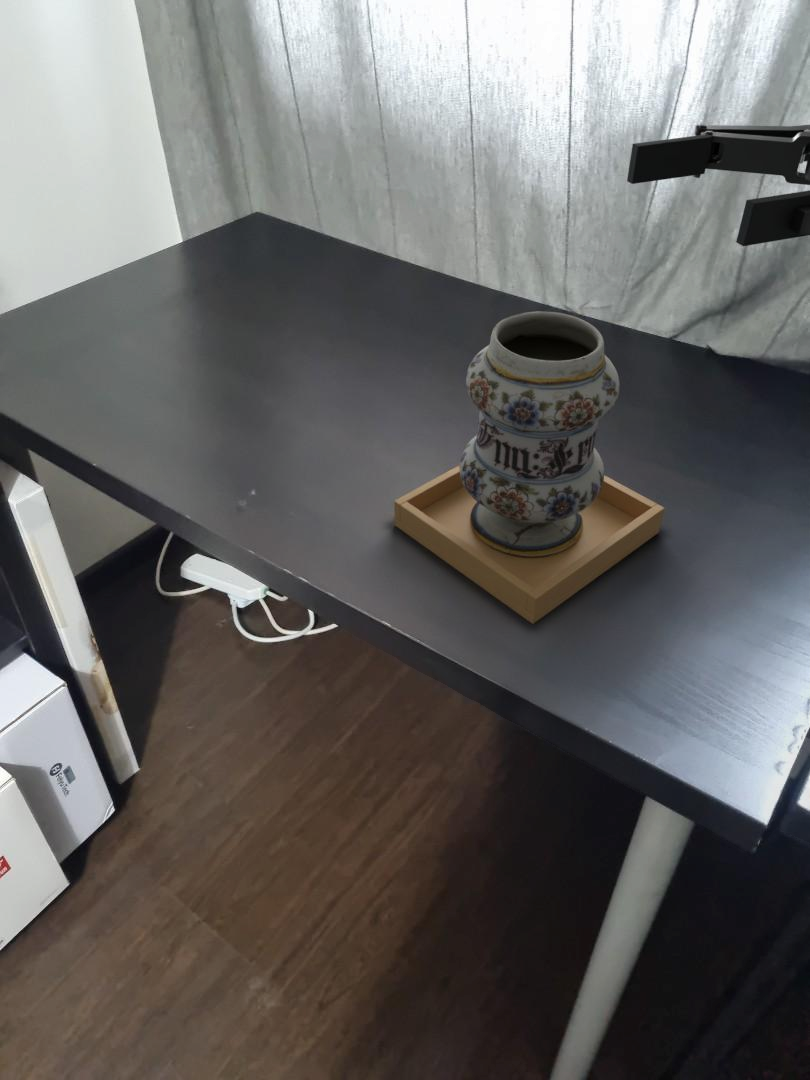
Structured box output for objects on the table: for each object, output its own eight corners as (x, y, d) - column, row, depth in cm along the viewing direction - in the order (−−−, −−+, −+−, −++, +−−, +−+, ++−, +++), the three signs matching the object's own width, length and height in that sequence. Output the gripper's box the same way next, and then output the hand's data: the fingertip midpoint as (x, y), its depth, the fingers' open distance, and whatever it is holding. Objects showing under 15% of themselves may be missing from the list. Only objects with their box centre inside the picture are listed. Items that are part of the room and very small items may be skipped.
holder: (659, 532, 73) (664, 507, 71) (532, 624, 65) (535, 599, 63) (519, 454, 83) (522, 430, 81) (394, 525, 74) (393, 500, 73)
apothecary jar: (622, 545, 71) (661, 354, 59) (495, 582, 67) (510, 388, 56) (552, 469, 79) (574, 289, 68) (436, 499, 76) (439, 315, 64)
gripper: (1044, 264, 57) (787, 314, 51) (798, 162, 75) (589, 192, 69) (1102, 147, 52) (824, 189, 46) (824, 68, 70) (601, 93, 64)
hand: (683, 191), depth 58 cm, fingers open, 13 cm apart
